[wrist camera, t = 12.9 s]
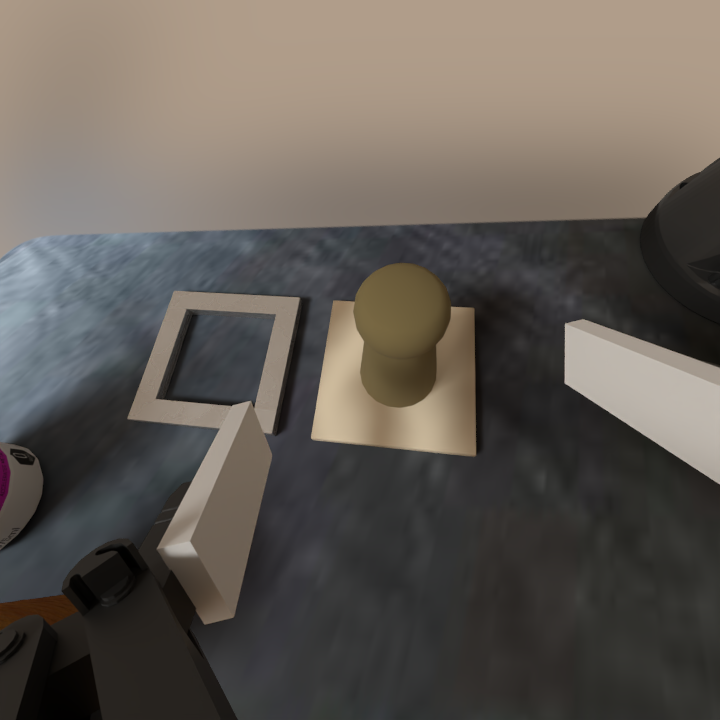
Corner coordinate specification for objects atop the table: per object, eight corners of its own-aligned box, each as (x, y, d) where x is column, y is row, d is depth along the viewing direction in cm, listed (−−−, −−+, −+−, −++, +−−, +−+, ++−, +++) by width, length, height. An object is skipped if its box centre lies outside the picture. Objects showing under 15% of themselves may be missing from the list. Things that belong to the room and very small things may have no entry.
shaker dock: (302, 303, 31) (299, 297, 30) (275, 436, 27) (271, 433, 26) (180, 296, 32) (174, 290, 32) (135, 421, 28) (127, 418, 27)
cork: (453, 375, 26) (492, 299, 16) (392, 424, 25) (393, 374, 15) (403, 322, 28) (409, 225, 18) (345, 365, 27) (318, 287, 17)
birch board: (472, 312, 29) (474, 307, 28) (473, 456, 25) (476, 455, 24) (334, 305, 31) (333, 300, 30) (313, 439, 26) (310, 438, 26)
